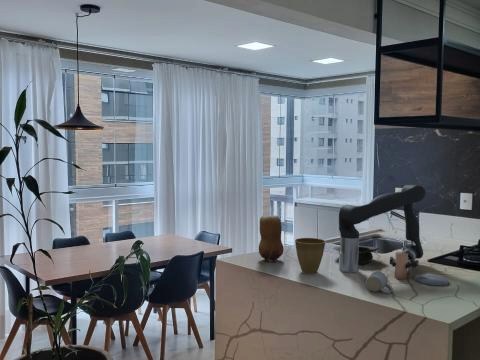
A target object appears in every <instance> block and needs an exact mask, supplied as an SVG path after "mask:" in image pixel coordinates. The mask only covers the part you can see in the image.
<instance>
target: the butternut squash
mask: <svg viewBox="0 0 480 360" xmlns="http://www.w3.org/2000/svg"><path fill="white" fill-rule="evenodd" d="M282 231H283V230H282V220H281V218H280V217H279V216H278V215H276V214H275V215H272V214H271V215H266V214H265V215H262V216H260V218H259V234H260V241H259V243H258V254H259V255H260V257H261V258H263V259H264V260H266V261H269V262H276V261H277V260H278V259H280V257H281V256H282V255H283V254H284V245H283V242H282Z"/></svg>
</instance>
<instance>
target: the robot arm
mask: <svg viewBox="0 0 480 360" xmlns="http://www.w3.org/2000/svg"><path fill="white" fill-rule="evenodd" d="M426 192H427V191H426V189H425V188H424V187H423V186H422V185H419V184H405V185H404V186H403V187H401V191H396V192H388V193H383V194H381V195H377V196H375V197H374V198H373V199H372V200H371V201H370V202H368V203H367V204H363V205H353V204H344V205H342V206H341V207H340V208H339V209H340V210H339V212H338V231H339V234H340V237H339V238H340V239H339V241H340V242H339V247H340V250H339V251H338V270H339V272H343V273H357V272H358V271H359V265H358V253H359V246H360V232H359V230H358V229H357V228H356V226H355V225H358V224H361V223H363V222H365V221H368V220H369V219H371V218H374V217H377V216H379V215H383V214H386V213H389V212H392V211H393V210H396V209H399V208H401V207H402V209H403V213H404V214H403V215H404V220H405V223H404V224H405V240H406V241H410V242H413V243H414V244H415V245H414V244H413V245H412V244H405V245H403V247H402V251H401V252H404V253H408V263H407V264H406V269H407V270H408V269H409V268H413V269H414V268H415V269H416V268H417V267H419V263H420V261H419V260H420V259H422V258H423V256H424V249H423V247H422V243H421V237H420V223H419V220H418V219H417V216H416V215H417V214H415V210H414V203H415V204H416V203H420V202H422V201H423V200H424V198H425V196H426ZM416 259H417V260H416ZM418 259H419V260H418ZM389 265H391V266H392V267H393V268H395V258H394V257H393V256H390V257H389Z"/></svg>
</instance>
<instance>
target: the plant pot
mask: <svg viewBox="0 0 480 360" xmlns="http://www.w3.org/2000/svg"><path fill="white" fill-rule="evenodd" d="M294 242H295V243H294V244H295V251H296V256H297V260H298V263H299V267H300V269H301V272H302V273H303V274H308V275H315V274H317V273H318V271H319V268H320V265H321V262H322V259H323V256H324V251H325V247H326V240H324V239H322V238H321V239H320V238H314V237H299V238H295V240H294Z"/></svg>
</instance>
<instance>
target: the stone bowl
mask: <svg viewBox="0 0 480 360" xmlns="http://www.w3.org/2000/svg"><path fill="white" fill-rule="evenodd" d="M332 249H333V250H335V251H336V252H339V250H340V246H335V247H332ZM379 249H380V247H378V248H377V247H373V246H365V245H364V246H363V245H359V253H358V266H359V265H364V264H369V263H370V262H371V261H372V260H373V259H374V256H373V252H376V251H378V250H379Z"/></svg>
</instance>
